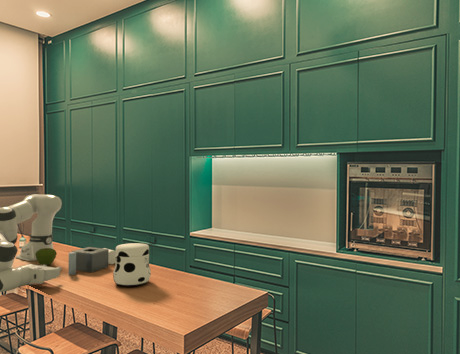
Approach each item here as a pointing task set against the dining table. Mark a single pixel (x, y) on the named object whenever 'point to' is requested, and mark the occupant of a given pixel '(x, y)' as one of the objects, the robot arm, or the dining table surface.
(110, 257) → the mug
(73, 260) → the grey rounded cylinder
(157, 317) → the dining table surface
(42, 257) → the apple
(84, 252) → the grey square box
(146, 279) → the milk container
